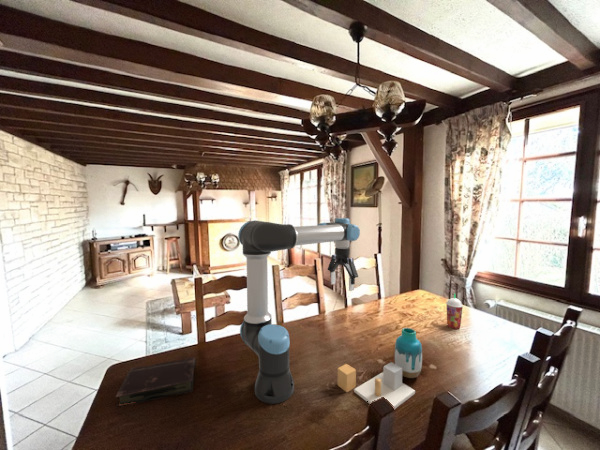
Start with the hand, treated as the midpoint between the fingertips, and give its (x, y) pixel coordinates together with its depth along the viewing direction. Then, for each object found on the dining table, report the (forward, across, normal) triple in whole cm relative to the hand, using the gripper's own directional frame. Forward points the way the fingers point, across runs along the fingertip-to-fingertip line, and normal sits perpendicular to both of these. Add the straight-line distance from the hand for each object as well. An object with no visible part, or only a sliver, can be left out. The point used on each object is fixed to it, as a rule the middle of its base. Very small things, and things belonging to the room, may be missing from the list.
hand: (341, 287), depth 137 cm
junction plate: (+28, -39, +16) cm, 51 cm away
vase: (+28, -38, -1) cm, 48 cm away
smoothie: (+28, -29, -63) cm, 75 cm away
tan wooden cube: (+28, -28, +25) cm, 47 cm away
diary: (+29, +16, +85) cm, 91 cm away
